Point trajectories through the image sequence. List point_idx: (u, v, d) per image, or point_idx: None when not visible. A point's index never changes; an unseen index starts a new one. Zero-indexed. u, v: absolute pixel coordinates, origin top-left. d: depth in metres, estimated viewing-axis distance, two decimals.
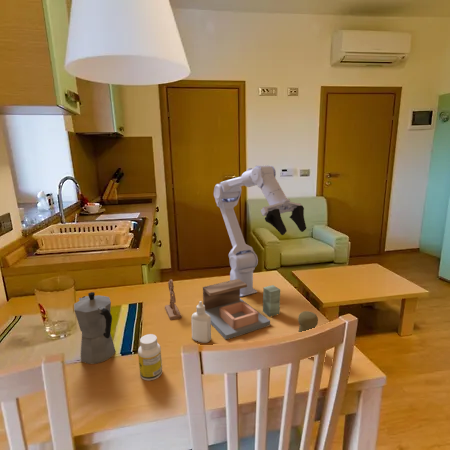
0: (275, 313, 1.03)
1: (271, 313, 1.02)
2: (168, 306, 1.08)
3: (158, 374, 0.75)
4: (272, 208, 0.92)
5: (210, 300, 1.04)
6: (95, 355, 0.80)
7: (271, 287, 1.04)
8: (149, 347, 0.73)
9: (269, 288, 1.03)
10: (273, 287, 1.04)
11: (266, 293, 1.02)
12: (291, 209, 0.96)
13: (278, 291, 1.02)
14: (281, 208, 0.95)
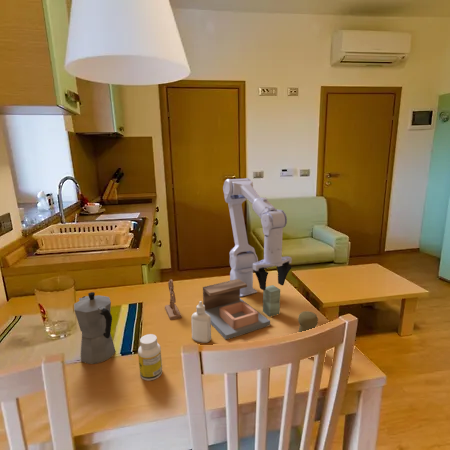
0: (275, 313, 1.03)
1: (271, 313, 1.02)
2: (168, 306, 1.08)
3: (158, 374, 0.75)
4: None
5: (210, 300, 1.04)
6: (95, 355, 0.80)
7: (271, 287, 1.04)
8: (149, 347, 0.73)
9: (269, 288, 1.03)
10: (273, 287, 1.04)
11: (266, 293, 1.02)
12: None
13: (278, 291, 1.02)
14: None
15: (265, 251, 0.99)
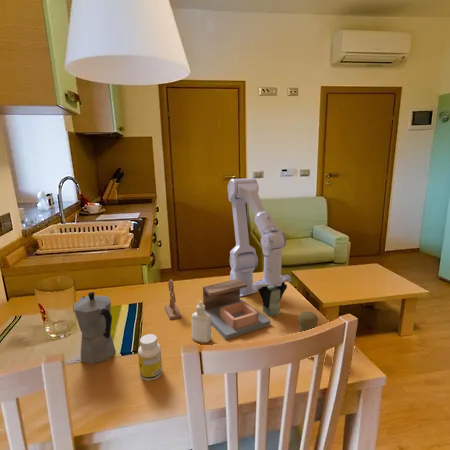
0: (275, 313, 1.03)
1: (271, 313, 1.02)
2: (168, 306, 1.08)
3: (158, 374, 0.75)
4: None
5: (210, 300, 1.04)
6: (95, 355, 0.80)
7: (271, 287, 1.04)
8: (149, 347, 0.73)
9: (269, 288, 1.03)
10: (273, 287, 1.04)
11: None
12: None
13: (278, 291, 1.02)
14: None
15: (265, 271, 1.00)
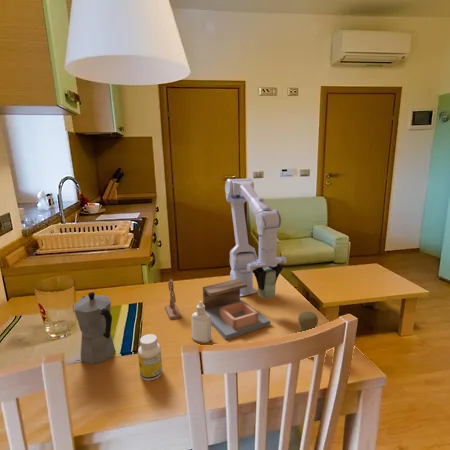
0: (270, 295, 1.01)
1: (266, 295, 1.00)
2: (168, 306, 1.08)
3: (158, 374, 0.75)
4: None
5: (210, 300, 1.04)
6: (95, 355, 0.80)
7: (267, 268, 1.01)
8: (149, 347, 0.73)
9: (264, 270, 1.00)
10: (268, 269, 1.01)
11: None
12: None
13: (274, 273, 0.99)
14: None
15: (259, 251, 0.98)
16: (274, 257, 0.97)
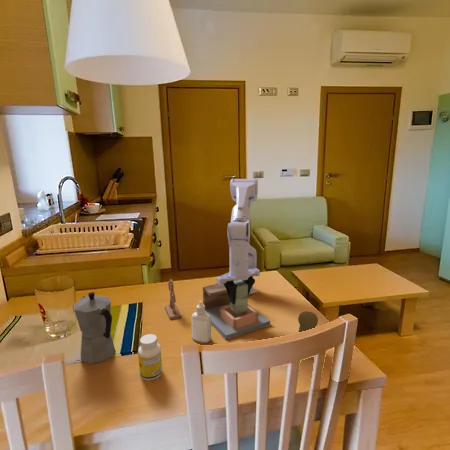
0: (242, 310, 0.96)
1: (238, 310, 0.95)
2: (168, 306, 1.08)
3: (158, 374, 0.75)
4: None
5: (210, 300, 1.04)
6: (95, 355, 0.80)
7: (239, 281, 0.97)
8: (149, 347, 0.73)
9: (236, 283, 0.96)
10: (240, 282, 0.96)
11: None
12: (247, 276, 0.96)
13: (245, 286, 0.95)
14: None
15: (230, 264, 0.93)
16: (245, 270, 0.92)
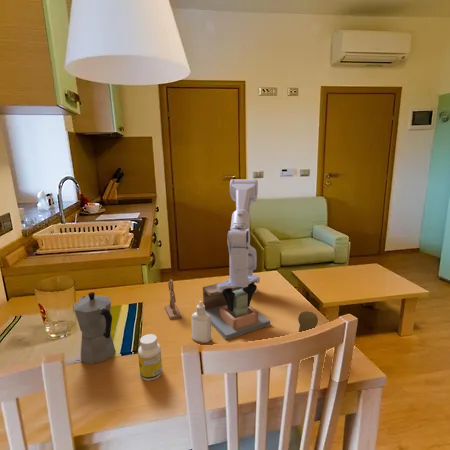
0: None
1: None
2: (168, 306, 1.08)
3: (158, 374, 0.75)
4: None
5: (210, 300, 1.04)
6: (95, 355, 0.80)
7: (238, 291, 0.97)
8: (149, 347, 0.73)
9: (236, 292, 0.96)
10: (240, 291, 0.97)
11: None
12: None
13: (245, 296, 0.95)
14: None
15: (230, 271, 0.94)
16: (245, 277, 0.93)
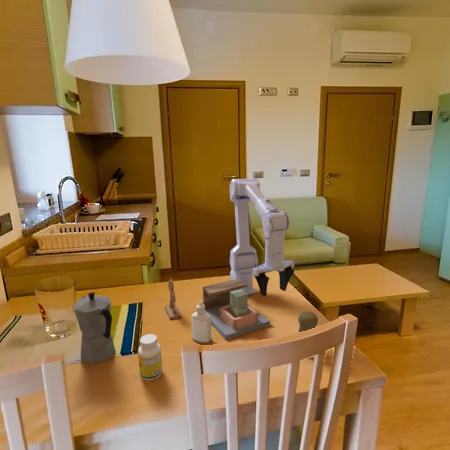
0: None
1: None
2: (168, 306, 1.08)
3: (158, 374, 0.75)
4: None
5: (210, 300, 1.04)
6: (95, 355, 0.80)
7: (238, 291, 0.97)
8: (149, 347, 0.73)
9: (236, 292, 0.96)
10: (240, 291, 0.97)
11: (232, 298, 0.96)
12: None
13: (245, 296, 0.95)
14: None
15: (266, 255, 0.93)
16: (281, 261, 0.92)
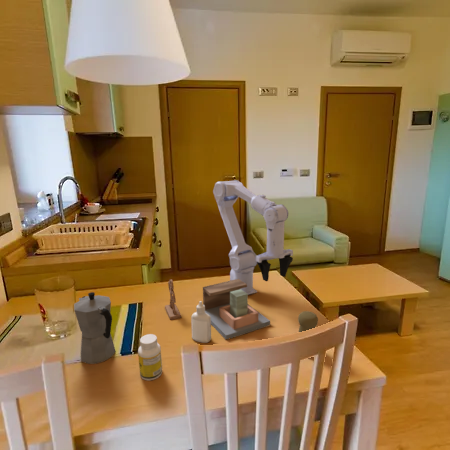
0: None
1: None
2: (168, 306, 1.08)
3: (158, 374, 0.75)
4: None
5: (210, 300, 1.04)
6: (95, 355, 0.80)
7: (238, 291, 0.97)
8: (149, 347, 0.73)
9: (236, 292, 0.96)
10: (240, 291, 0.97)
11: (232, 298, 0.96)
12: None
13: (245, 296, 0.95)
14: None
15: (268, 244, 1.04)
16: (281, 249, 1.03)
